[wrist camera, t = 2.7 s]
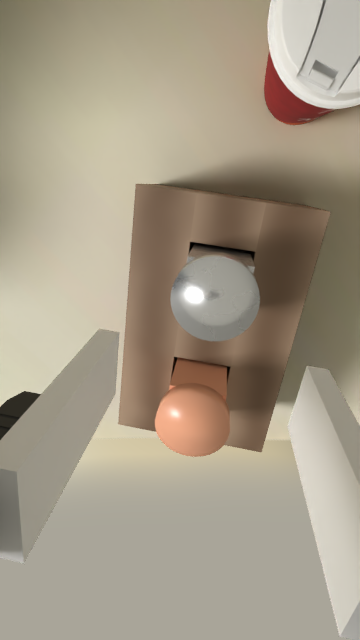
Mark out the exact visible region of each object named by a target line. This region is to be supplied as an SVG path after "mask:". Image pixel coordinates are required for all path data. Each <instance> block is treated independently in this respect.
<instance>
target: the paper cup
mask: <svg viewBox="0 0 360 640" xmlns="http://www.w3.org/2000/svg"><path fill="white" fill-rule="evenodd" d="M268 43H269V55H268V61H267V68H266V76H265V85H264V93H265V100H266V104H267V107H268V109H269V110H270V112H271V113H272V115H273V116H274V117H275V118H276V119H278V120H279V121H281V122H283V123H286V124H290V125H299V124H304V123H307V122H310V121H312V120H315V119H317V118H319V117H321V116H323V115H325V114H328V113H330V112H332V111H334V110H336V109H342V108H348V107H353V106H356V105H359V104H360V0H271V3H270V8H269V15H268Z"/></svg>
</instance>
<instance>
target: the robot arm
mask: <svg viewBox="0 0 360 640" xmlns="http://www.w3.org/2000/svg"><path fill="white" fill-rule="evenodd" d="M118 345H119V332H114V331H108V330H103V329H99V330H98V331H97V332H96V333H95V335H94V336H93V337H92V338H91V339H90V340H89V341H88V342H87V343H86V345H85V346H84V347H83V348H82V349H81V350H80V351H79V352H78V354H77V355H76V356H75V357H74V358H73V359H72V360H71V361H70V363H69V364H68V365H67V366H66V367H65V368H64V369H63V370H62V372H61V373H60V374H59V375H58V376H57V377H56V378H55V379H54V380H53V382H52V383H51V384H50V385H49V386H48V387H47V388H46V389H45V391H44V392H43V393H42V394H37V393H31V392H26V391H24V392H22V393H20V394H18V395H16V396H14V397H12V398H10V399H9V400H7V401H6V402H5V403H4V404H3V405H2V406H1V407H0V558H2V559H6V560H10V561H15V562H19V563H24V562H25V561H26V559H27V557H28V555H29V553H30V551H31V549H32V548H33V546H34V544H35V542H36V540H37V538H38V536H39V535H40V533H41V531H42V529H43V527H44V525H45V523H46V522H47V520H48V518H49V516H50V514H51V512H52V510H53V509H54V507H55V505H56V503H57V501H58V499H59V497H60V496H61V494H62V492H63V490H64V488H65V486H66V484H67V482H68V481H69V479H70V477H71V475H72V473H73V471H74V470H75V468H76V466H77V464H78V462H79V460H80V458H81V457H82V454H83V453H84V451H85V449H86V447H87V445H88V444H89V442H90V440H91V438H92V436H93V434H94V433H95V431H96V429H97V427H98V425H99V423H100V421H101V420H102V418H103V416H104V414H105V412H106V410H107V408H108V407H109V405H110V403H111V401H112V399H113V397H114V395H115V391H116V376H117V360H118ZM288 430H289V434H290V438H291V442H292V446H293V450H294V455H295V459H296V463H297V467H298V471H299V475H300V479H301V483H302V487H303V491H304V495H305V499H306V503H307V507H308V511H309V515H310V519H311V523H312V527H313V531H314V535H315V539H316V543H317V547H318V551H319V555H320V559H321V563H322V567H323V571H324V576H325V580H326V584H327V588H328V592H329V596H330V600H331V604H332V608H333V612H334V616H335V620H336V624H337V628H338V632H339V636H340V637H343V638H347V639H352V640H360V426H359V424H358V422H357V420H356V418H355V417H354V415H353V413H352V411H351V409H350V407H349V406H348V404H347V402H346V400H345V398H344V396H343V395H342V393H341V391H340V389H339V387H338V386H337V384H336V382H335V380H334V378H333V376H332V375H331V373H330V371H329V369H325V368H319V367H313V366H308V365H307V366H306V370H305V373H304V376H303V379H302V382H301V385H300V389H299V392H298V395H297V398H296V401H295V404H294V408H293V411H292V414H291V417H290V420H289V423H288Z"/></svg>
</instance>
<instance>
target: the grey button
mask: <svg viewBox="0 0 360 640" xmlns="http://www.w3.org/2000/svg"><path fill="white" fill-rule="evenodd" d="M254 269H255V266H254V263H253V260H252V257H251V254H250V251H248V250H242V249H235V248H229V247H222V246H216V245H209V244H203V243H196V242H195V244H194V246H193V248H192V249H191V251H190V253H189V255H188V257H187V263H186V264H185V266H184V267H183V268H182V269H181V271H180V272H179V274H178V276H177V278H176V279H175V281H174V284H173V286H172V290H171V299H170V300H171V308H172V311H173V314H174V316H175V318H176V320H177V322H178V323H179V324H180V326H181V327H182V328H183V329H184V330H186V331H187V332H188V333H189V334H191V335H193V336H195V337H197V338H199V339H202V340H206V341H225V340H229V339H232V338H234V337H236V336H238V335H240V334H241V333H243V332H244V331H245V330H246V329H247V328H249V326H250V325H251V324H252V323H253V321H254V319H255V318H256V315H257V313H258V310H259V305H260V294H259V289H258V285H257V282H256V279H255V276H254V274H253V273H254Z"/></svg>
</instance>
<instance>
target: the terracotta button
mask: <svg viewBox="0 0 360 640" xmlns="http://www.w3.org/2000/svg"><path fill="white" fill-rule="evenodd" d="M226 397H227V366H224V365H219V364H213V363H207V362H202V361H196V360H191V359H185V358H180V357H178V358H177V362H176V365H175V369H174V372H173V375H172V379H171V382H170V387H169V391H167V392H166V393H165V395H164V396H163V397H162V399H161V402H160V404H159V408H158V411H157V414H156V418H155V428H156V432H157V434H158V436H159V438H160V439H161V441H162V442H163V443H164V444H165V445H166V446H167V447H169V448H170V449H171V450H173V451H175V452H177V453H180V454H182V455H186V456H195V457H196V456H206V455H209V454H212V453H214V452H216V451H217V450H219V449H220V448H221V447H222V446H223V445H224V444H225V443H226V441H227V439H228V437H229V433H230V411H229V407H228V404H227V402H226Z"/></svg>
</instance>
